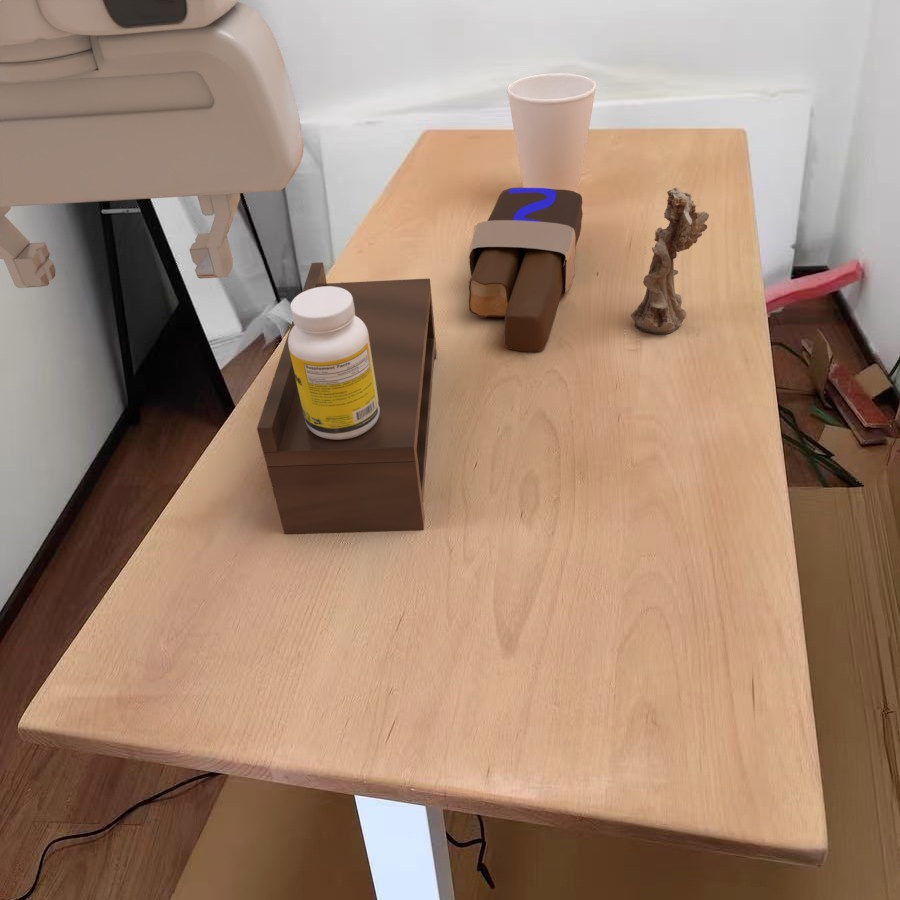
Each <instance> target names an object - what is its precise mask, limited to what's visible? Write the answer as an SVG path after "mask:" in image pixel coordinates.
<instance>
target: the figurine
mask: <svg viewBox="0 0 900 900" xmlns="http://www.w3.org/2000/svg"><path fill="white" fill-rule="evenodd" d="M666 192H667V196H668V197H667V200H666V203H667V205H666V208H665V210H664V213H663V214H664V216H663V217H664V219H666V220H667V221H668V222H669V223H668V226H667V227H666V228H662V227H658V228H657V229H656V230H655V232H654V235H655V238H654V240H653V241H654V242H656V243H655V244H654V247H653V246H652V247H651V250H652V253H653V256H652V258H651V262H650V264H649V270H648V274H646V275H645V276H644V277H643V282H642V283H643V286H644V287H645V288H646V290H645V294H644V296H643V299H642V301H641V302H640V304H639V305H638V306H637V308H636V309H635V310H634V311H633V312H632V313H631V314H630V317H631V319H632V320H633V322H634V327H636V329H637V330H639V331H642V332H643V333H646V334H647V333H648V334H653V335H667V334H671V333H673V332H674V331H676V330H677V329H678V328H679V327H680V325H682V323H683V321H684V320H685V319H686V316H687V312H686V311H685V309H683V308H682V302H683V300H682V296H681V295H680V294H678V293H676V289H675V276H676V275H678V274H679V271H678V270H677V269H675V267H674V266H675V264H674V260H675V259H677V257H678V253H680V252H683V251H686V250H689V249H690V248H691V247H692V246H693V245H694V244H697V242H698V239H699V238H700V237H701V236H703V233H704V232H705V231H706V230H707V229H708V225H707V224H706V222H707V221H708V220H709V217H710V214H709V213H708V212H707V211H705V210H703V211H696V207H697V204H695V202H694V200H693V199H692V193H689V192H683V191H680V190H679V187H674V188H672V189H670V190H668V191H666Z"/></svg>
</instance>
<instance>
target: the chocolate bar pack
mask: <svg viewBox="0 0 900 900" xmlns="http://www.w3.org/2000/svg"><path fill="white" fill-rule="evenodd" d="M583 215H584V214H583V197H582V195H581V194H580V193H578V192H577V191H576V192H574V191H570V190H558V189H548V188H524V187H510V188H507V189H504V190H503V191H502V192H500V193H499V196H498V198H497V201H496V202H495V204H494V207H493V209H492V211H491V213H490V215H489V217H488V219H487V220H484V221H481V222H478V223H477V224H476V225H474V228H473V233H472V237H471V241H470V247H469V252H468V259H469V260H468V264H469V272H470V279H469V281H468V293H469V294H468V311H469V312H470V314H472V315H474V316H476V317H478V318H487V317H489V318H490V317H491V318H492V317H494V318H504V329H503V331H504V333H503V341H504V345H505V347H506V348H507V349H508V350H512V351H518V352H527V353H528V352H532V353H534V352H539V351H542V350H543V349H545V347H546V346H547V344H548V341H549V338H550V335H551V333H552V329H553V326H554V325H553V324H554V320H555V317H556V314H557V312H558V311H557V310H558V307H559V303H560V299H561V296H563V295H565V294H566V293H567V291H568V290H569V289H570V288H571V285H572V282H573V280H574V277H575V274H576V273H575V272H576V269H575V257H576V248H577V243H578V241H579V238H580V235H581V230H582V222H583Z"/></svg>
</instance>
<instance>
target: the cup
mask: <svg viewBox="0 0 900 900" xmlns="http://www.w3.org/2000/svg"><path fill="white" fill-rule="evenodd" d="M597 89H598V85H597V82H595V80H594V79H592V78H590V77H588V76H584V75H582V74H577V73H576V74H575V73H566V72H565V73H564V72H557V73H555V72H553V73H552V72H551V73H541V74H536V75H535V74H534V75H529V76H525V77H521V78H519V79H517V80H514V81H512V82H511V83H510V84H508V86H507V89H506V93H507V96H508V101H509V108H510V116H511V121H512V128H513V132H514V141H515V146H516V152H517V158H518V159H517V160H518V164H519V172H520V177H521V183H522V188H548V189H558V190H570V191H574V192H576V193H577V190H578V188H579V187H580V185H581V180H582V174H583V173H582V172H583V168H584V163H585V161H584V160H585V154H586V149H587V144H588V137H589V131H590V125H591V119H592V113H593V106H594V102H595V95H596V91H597Z"/></svg>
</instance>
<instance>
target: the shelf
mask: <svg viewBox="0 0 900 900" xmlns="http://www.w3.org/2000/svg"><path fill="white" fill-rule="evenodd" d="M324 286H333V287H339V288H343V289H345V290H347V291H348V292H350V294H351V295H352V297H353V302H354V308H355V316H357V317H358V318H360V319H361V320H362V321H363V322H364V324H365V325H366V327H367V330H368V334H369V341H370V347H371V354H372V361H373V367H374V374H375V380H376V386H377V393H378V400H379V408H380V413H379V418H378V420H377V422H376V423H375V424H374V426H373V427H372V428H370V429H369V430H368V431H366V432H365V433H363V434H361V435H359V436H357V437H354V438H349V439H342V440H333V439H326V438H322V437H319V436H317V435H315V434H314V433H313V432H311V431H310V430H309V428H308V427H307V425H306V422H305V418H304V414H303V410H302V405H301V401H300V396H299V392H298V388H297V383H296V378H295V374H294V369H293V364H292V360H291V356H290V351H289V347H288V337H289V334H290V331H291V330H292V328H293V327H294V326H295V325H294V322H293V320H292V321H291V324H290V327H289V330H288V334H287V337H286V339H285V341H284V342H285V343H284V345H283V349H282V352H281V354H280V358H279V361H278V363H277V367H276V369H275V373H274V376H273V378H272V381H271V384H270V388H269V391H268V394H267V397H266V399H265V402H264V406H263V409H262V411H261V415H260V417H259V421H258V423H257V427H256V431H257V434H258V438H259V442H260V446H261V450H262V453H263V457H264V461H265V465H266V469H267V474H268V477H269V482H270V484H271V485H270V486H271V489H272V492H273V496H274V500H275V503H276V507H277V511H278V515H279V519H280V523H281V526H282V530H283V534H284V535H295V534H298V535H299V534H328V533H329V534H330V533H331V534H333V533H358V532H359V533H361V532H362V533H363V532H364V533H365V532H393V531H397V532H398V531H423V530H424V529H425V509H424V496H425V484H426V483H425V482H426V471H427V469H426V468H427V457H428V444H429V432H430V431H429V430H430V428H429V427H430V418H431V403H432V393H433V392H432V390H433V380H434V365H435V360H437V355H438V354H437V353H438V351H437V350H438V349H437V339H436V329H435V328H436V327H435V317H434V308H433V296H432V285H431V278H411V279H410V278H409V279H392V280H391V279H390V280H371V281H349V282H330V283H328V282H327V277H326V272H325V265H324V262H311V264H310V267H309V270H308V272H307V276H306V279H305V282H304V285H303V288H302V291H301V293H302V292H304V291H307V290H309V289H313V288H317V287H324Z"/></svg>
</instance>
